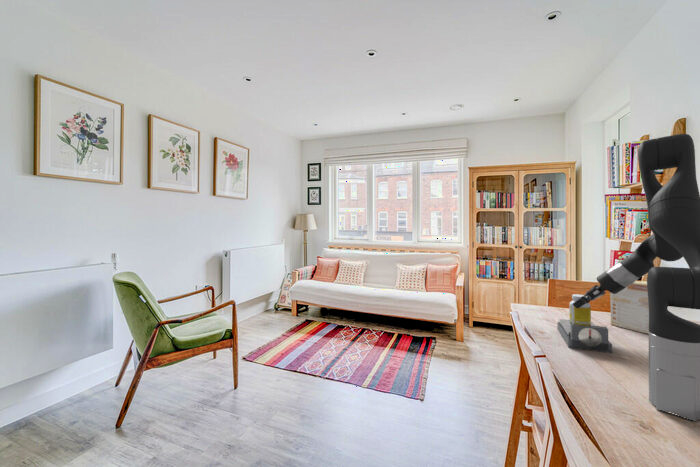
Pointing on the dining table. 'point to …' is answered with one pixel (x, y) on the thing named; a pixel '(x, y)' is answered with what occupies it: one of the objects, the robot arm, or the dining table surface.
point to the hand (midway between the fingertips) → (577, 304)
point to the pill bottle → (579, 312)
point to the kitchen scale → (586, 337)
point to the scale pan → (567, 325)
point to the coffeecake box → (631, 307)
